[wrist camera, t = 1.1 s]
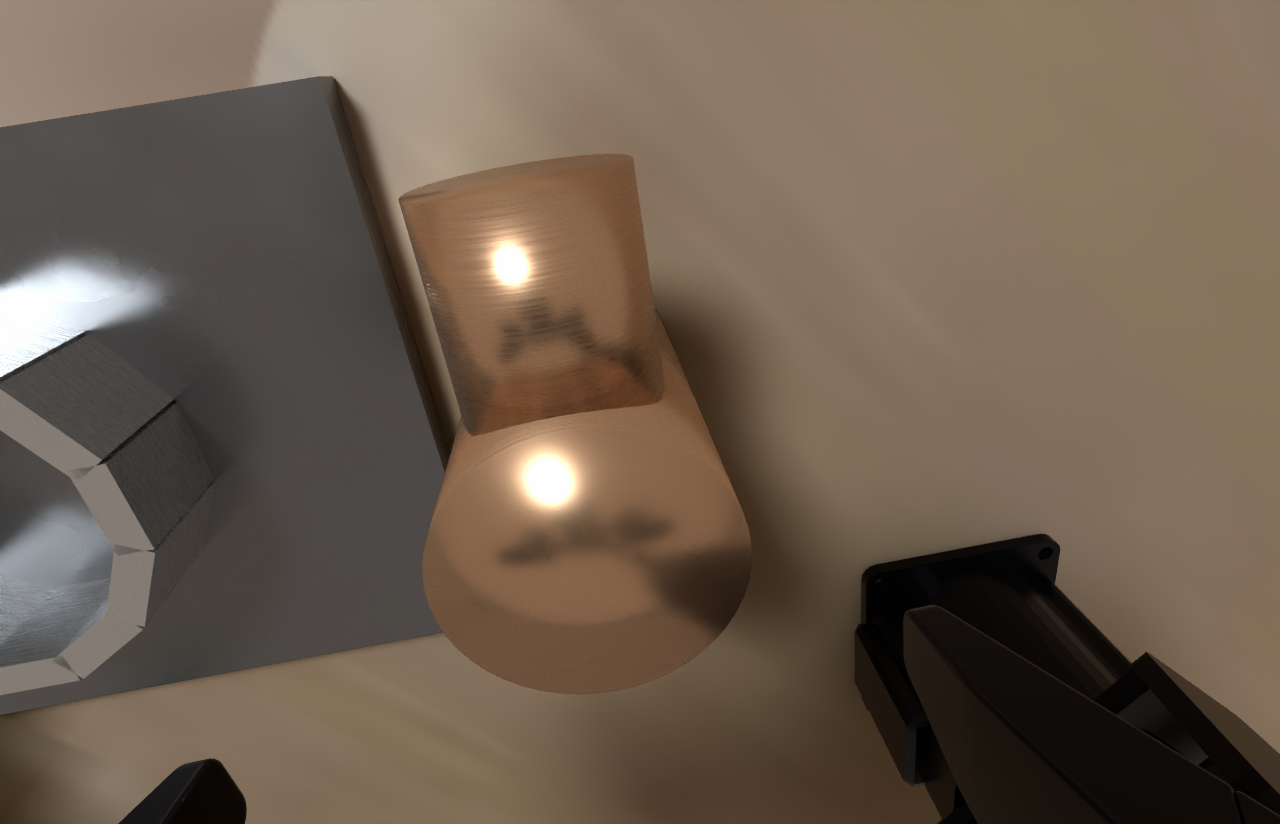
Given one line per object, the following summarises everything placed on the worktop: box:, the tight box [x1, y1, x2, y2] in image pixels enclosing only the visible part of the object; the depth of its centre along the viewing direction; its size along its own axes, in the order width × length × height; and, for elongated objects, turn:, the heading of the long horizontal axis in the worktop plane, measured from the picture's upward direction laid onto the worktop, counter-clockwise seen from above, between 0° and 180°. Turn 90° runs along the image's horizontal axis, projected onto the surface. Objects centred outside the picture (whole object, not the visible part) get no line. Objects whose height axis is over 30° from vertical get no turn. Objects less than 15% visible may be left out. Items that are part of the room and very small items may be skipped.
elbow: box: [399, 154, 752, 694], centre depth 14 cm, size 5×8×9 cm, turn 8°
